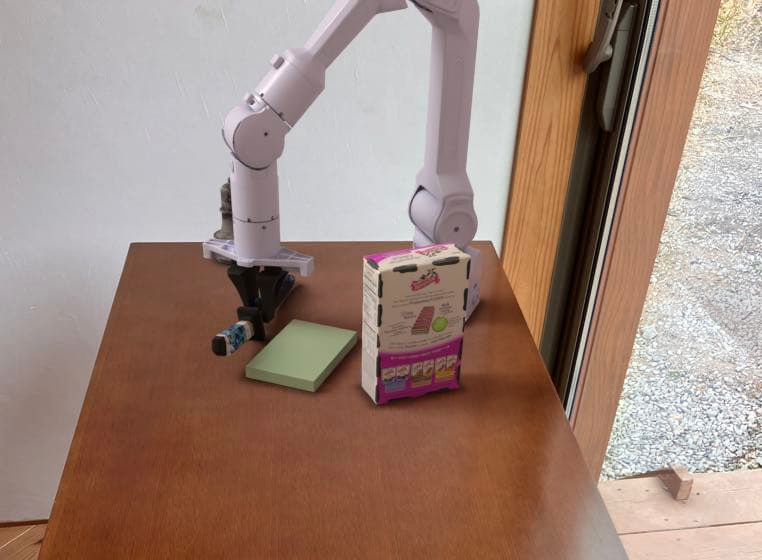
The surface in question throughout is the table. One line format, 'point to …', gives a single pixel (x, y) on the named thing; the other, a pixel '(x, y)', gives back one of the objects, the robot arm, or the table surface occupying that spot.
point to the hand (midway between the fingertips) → (260, 318)
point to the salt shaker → (225, 217)
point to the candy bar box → (413, 321)
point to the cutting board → (302, 355)
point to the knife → (247, 325)
